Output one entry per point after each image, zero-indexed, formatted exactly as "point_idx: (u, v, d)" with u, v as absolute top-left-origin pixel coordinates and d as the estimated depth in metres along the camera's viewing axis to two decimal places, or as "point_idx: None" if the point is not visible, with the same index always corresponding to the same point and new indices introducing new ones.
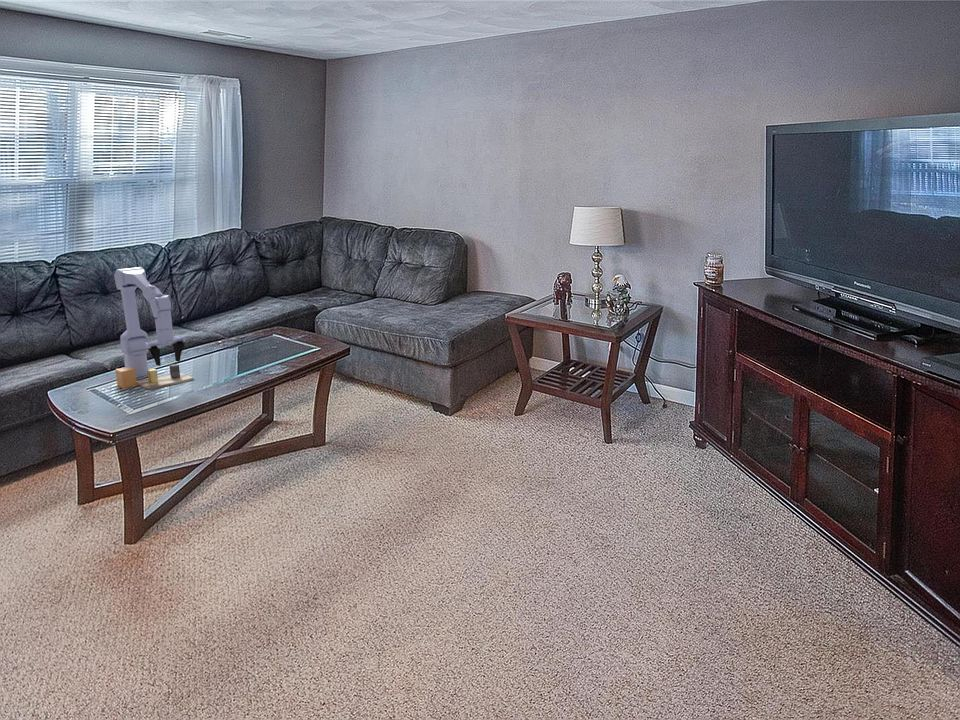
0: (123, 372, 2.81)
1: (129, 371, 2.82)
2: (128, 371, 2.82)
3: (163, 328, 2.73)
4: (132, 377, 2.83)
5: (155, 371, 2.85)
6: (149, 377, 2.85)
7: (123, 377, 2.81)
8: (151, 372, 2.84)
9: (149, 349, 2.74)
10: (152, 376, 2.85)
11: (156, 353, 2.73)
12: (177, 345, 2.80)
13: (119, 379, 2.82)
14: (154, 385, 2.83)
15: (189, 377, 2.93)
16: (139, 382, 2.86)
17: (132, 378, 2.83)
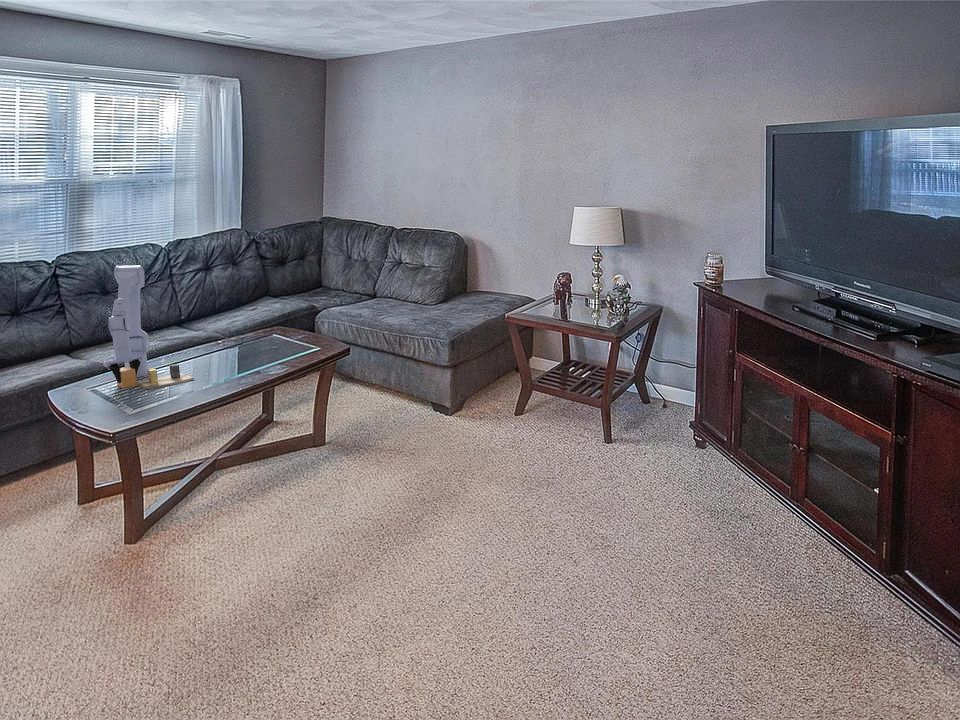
0: (123, 372, 2.81)
1: (129, 371, 2.82)
2: (128, 371, 2.82)
3: (115, 347, 2.78)
4: (132, 377, 2.83)
5: (155, 371, 2.85)
6: (149, 377, 2.85)
7: (123, 377, 2.81)
8: (151, 372, 2.84)
9: (110, 367, 2.80)
10: (152, 376, 2.85)
11: (116, 371, 2.79)
12: (133, 363, 2.84)
13: None
14: (154, 385, 2.83)
15: (189, 377, 2.93)
16: (139, 382, 2.86)
17: (132, 378, 2.83)
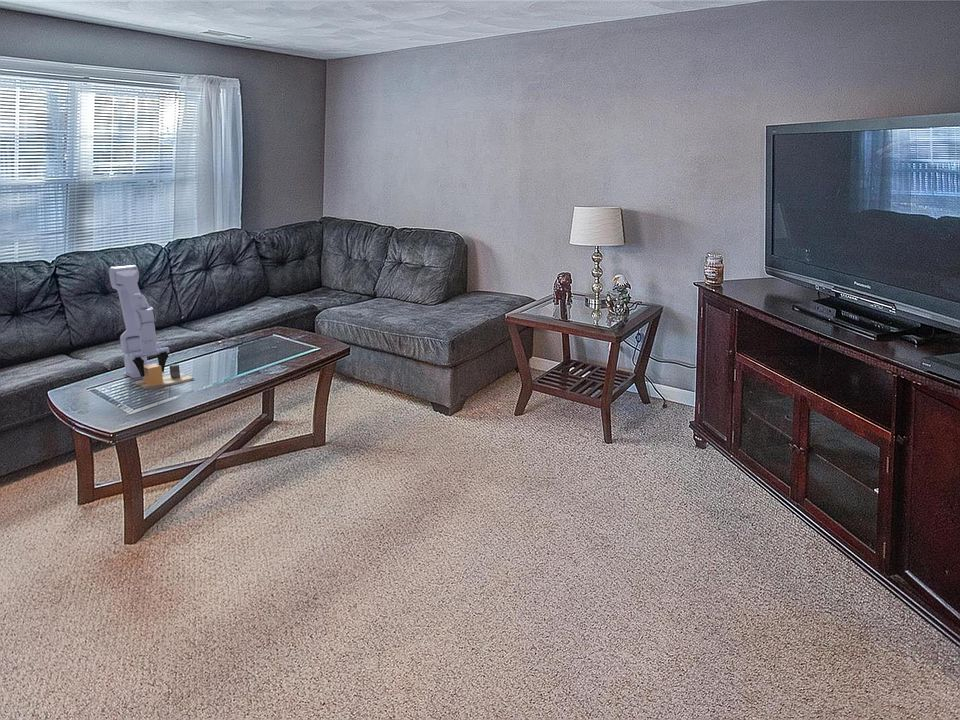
0: (150, 369, 2.82)
1: (155, 368, 2.83)
2: (154, 368, 2.83)
3: (146, 340, 2.79)
4: (158, 374, 2.85)
5: None
6: None
7: (150, 374, 2.82)
8: None
9: (133, 360, 2.80)
10: None
11: (140, 364, 2.79)
12: (161, 356, 2.86)
13: (145, 376, 2.84)
14: (154, 385, 2.83)
15: (189, 377, 2.93)
16: (139, 382, 2.86)
17: (158, 375, 2.85)
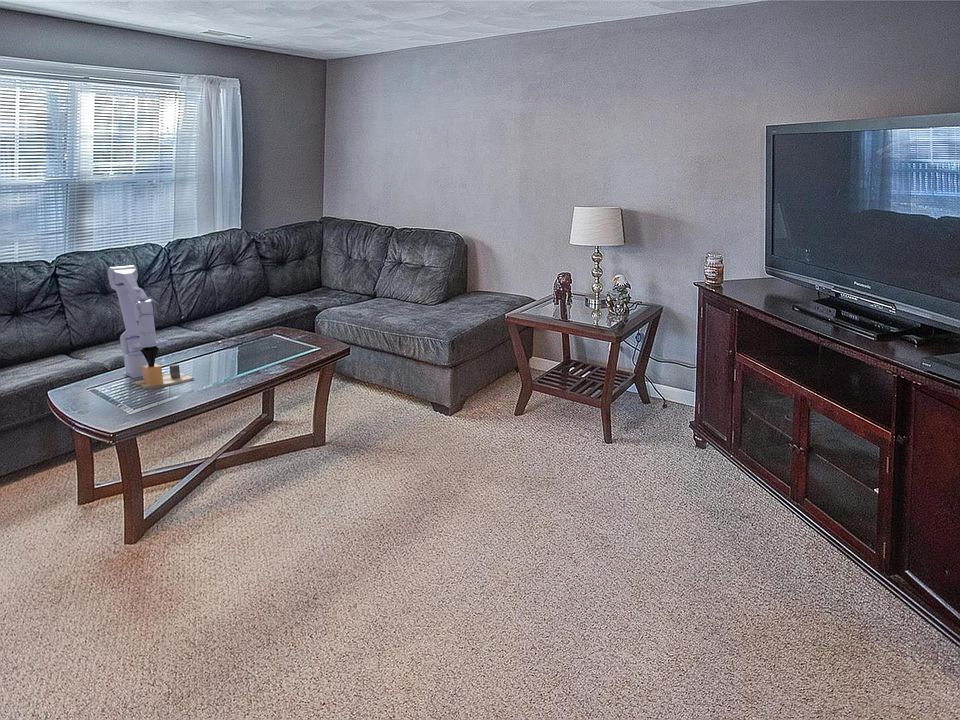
0: (150, 369, 2.82)
1: (155, 368, 2.83)
2: (154, 368, 2.83)
3: (145, 332, 2.78)
4: (158, 374, 2.85)
5: None
6: None
7: (150, 374, 2.82)
8: None
9: (141, 350, 2.82)
10: None
11: (148, 354, 2.81)
12: None
13: (145, 376, 2.84)
14: (154, 385, 2.83)
15: (189, 377, 2.93)
16: (139, 382, 2.86)
17: (158, 375, 2.85)
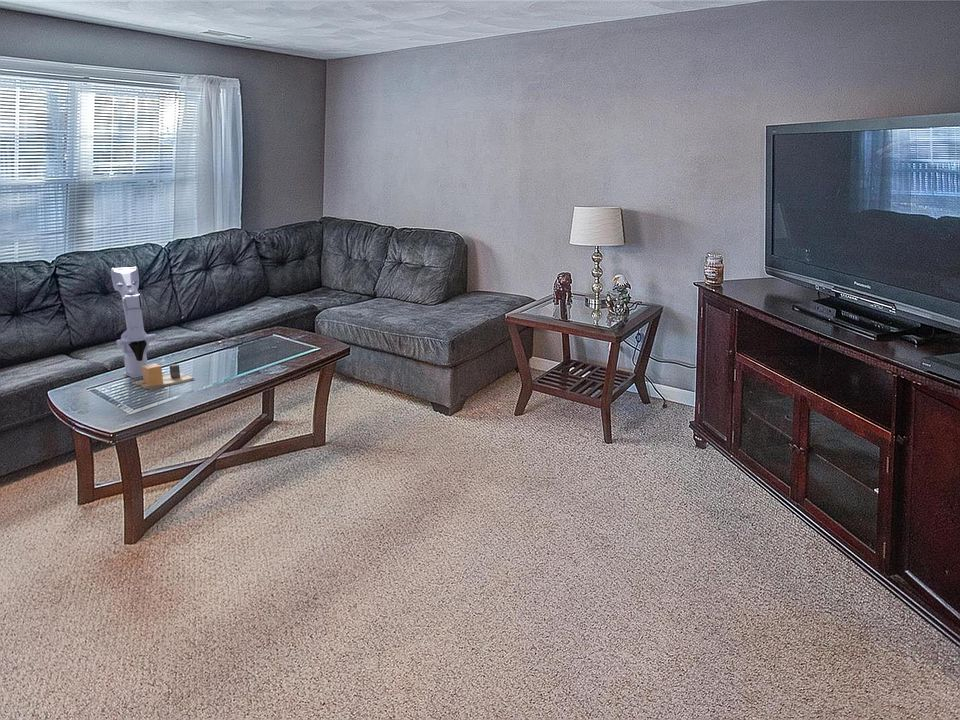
0: (150, 369, 2.82)
1: (155, 368, 2.83)
2: (154, 368, 2.83)
3: (131, 326, 2.78)
4: (158, 374, 2.85)
5: None
6: None
7: (150, 374, 2.82)
8: None
9: (129, 345, 2.82)
10: None
11: (136, 349, 2.81)
12: (139, 344, 2.83)
13: (145, 376, 2.84)
14: (154, 385, 2.83)
15: (189, 377, 2.93)
16: (139, 382, 2.86)
17: (158, 375, 2.85)
